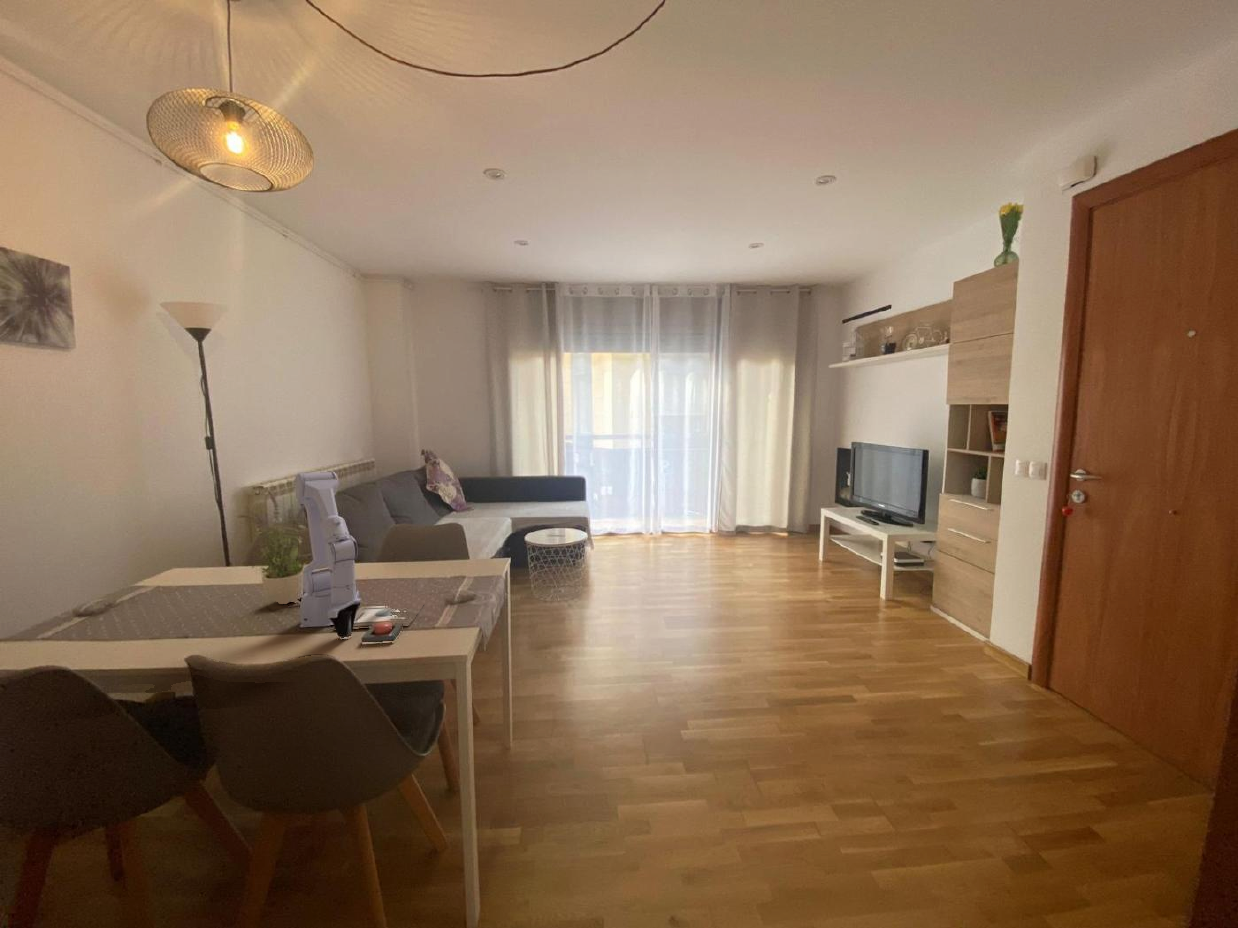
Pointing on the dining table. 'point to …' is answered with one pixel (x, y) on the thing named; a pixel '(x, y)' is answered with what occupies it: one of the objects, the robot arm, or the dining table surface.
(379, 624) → the button
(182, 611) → the dining table surface
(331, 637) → the dining table surface
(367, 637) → the button housing
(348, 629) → the gray capped cylinder
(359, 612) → the drawing board
